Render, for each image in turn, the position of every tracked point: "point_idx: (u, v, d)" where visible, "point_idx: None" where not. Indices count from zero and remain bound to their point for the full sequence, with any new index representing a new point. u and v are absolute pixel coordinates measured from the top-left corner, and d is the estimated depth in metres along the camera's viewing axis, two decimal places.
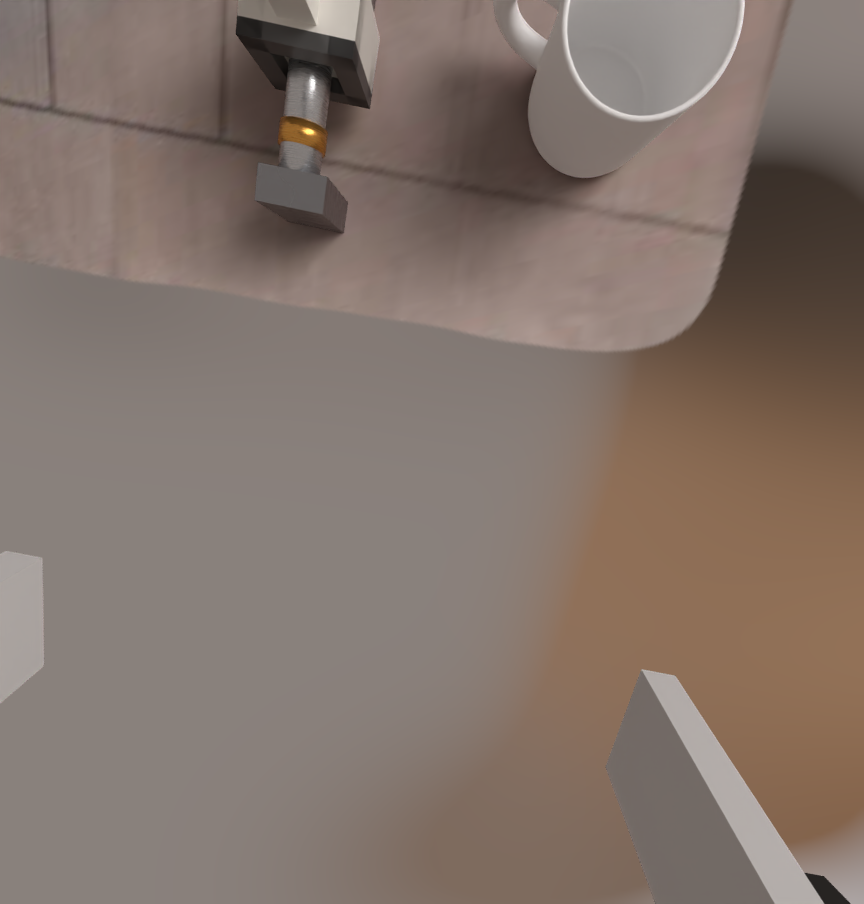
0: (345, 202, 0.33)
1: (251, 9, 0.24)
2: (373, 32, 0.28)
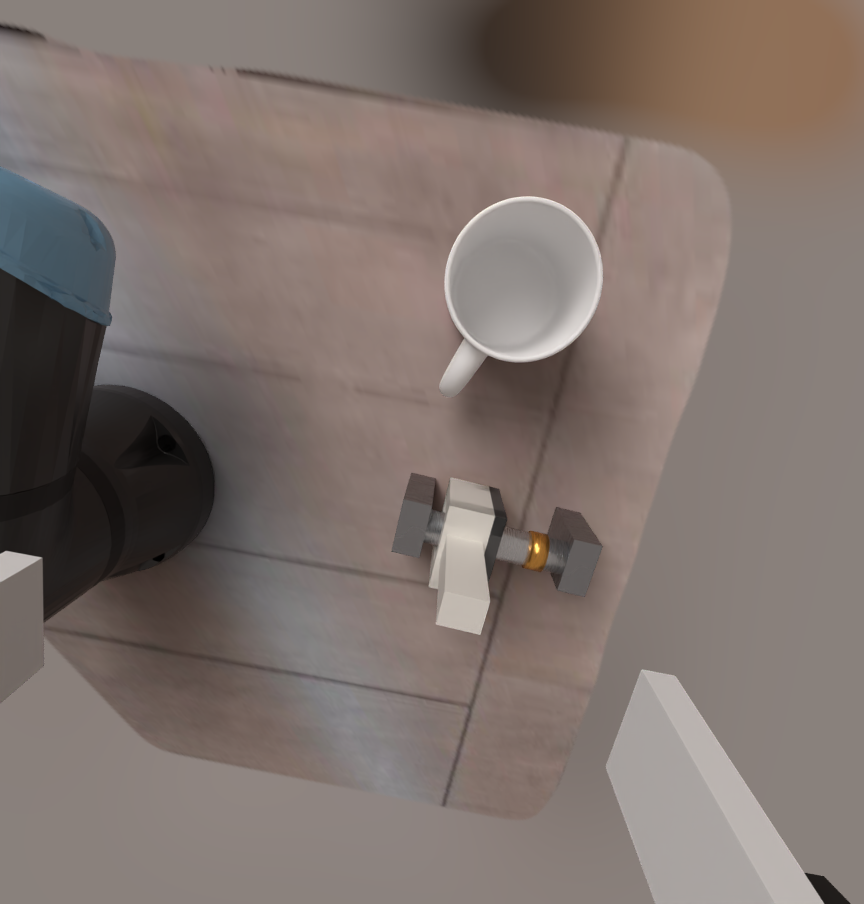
0: (560, 510, 0.39)
1: None
2: (458, 487, 0.35)
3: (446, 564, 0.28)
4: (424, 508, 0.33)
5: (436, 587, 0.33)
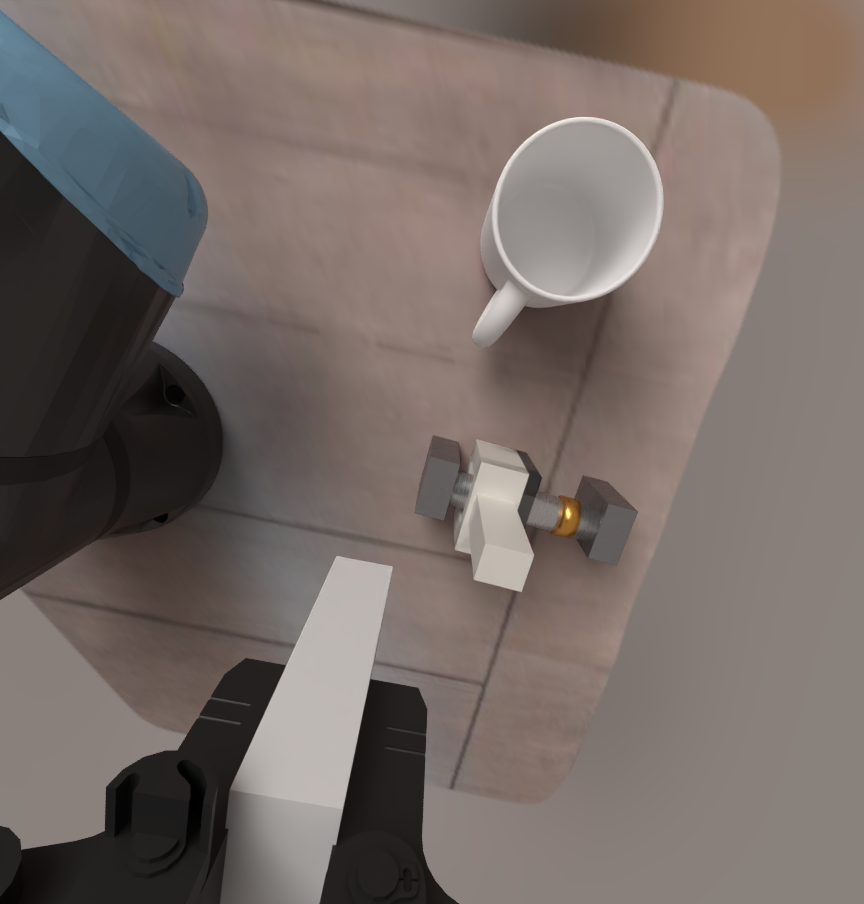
0: (587, 478, 0.37)
1: None
2: (486, 448, 0.33)
3: (482, 519, 0.26)
4: (451, 467, 0.31)
5: (463, 550, 0.31)
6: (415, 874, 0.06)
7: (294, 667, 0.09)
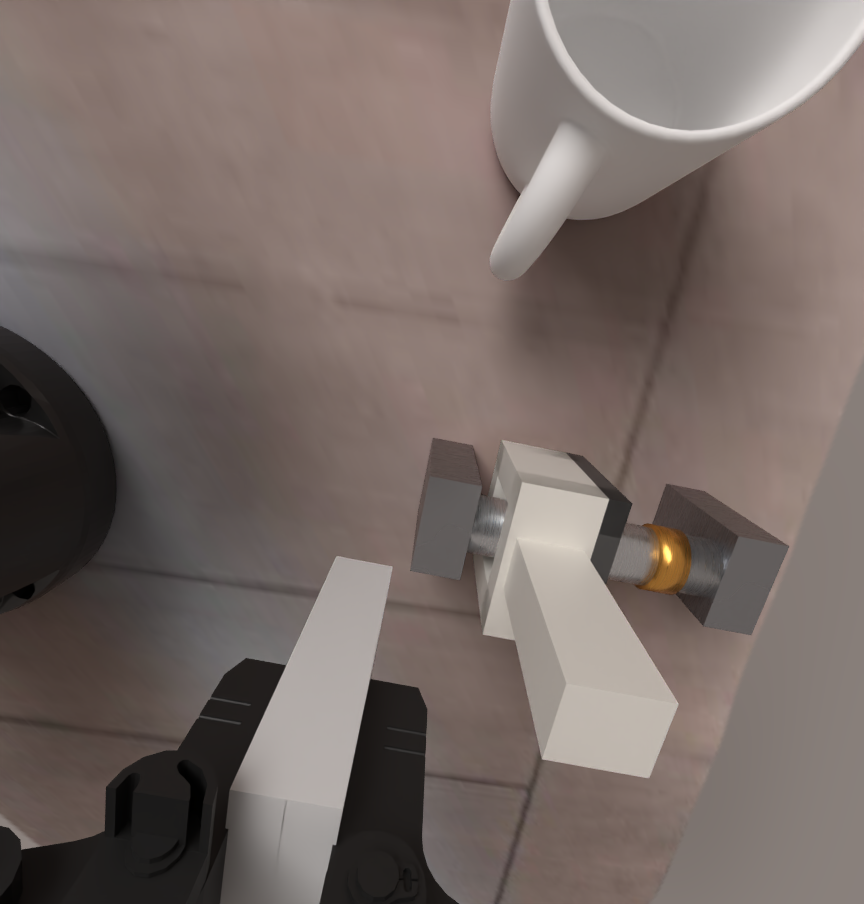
0: (676, 489, 0.24)
1: None
2: (522, 454, 0.20)
3: (540, 604, 0.13)
4: (468, 491, 0.18)
5: (497, 634, 0.18)
6: (415, 874, 0.06)
7: (294, 667, 0.09)
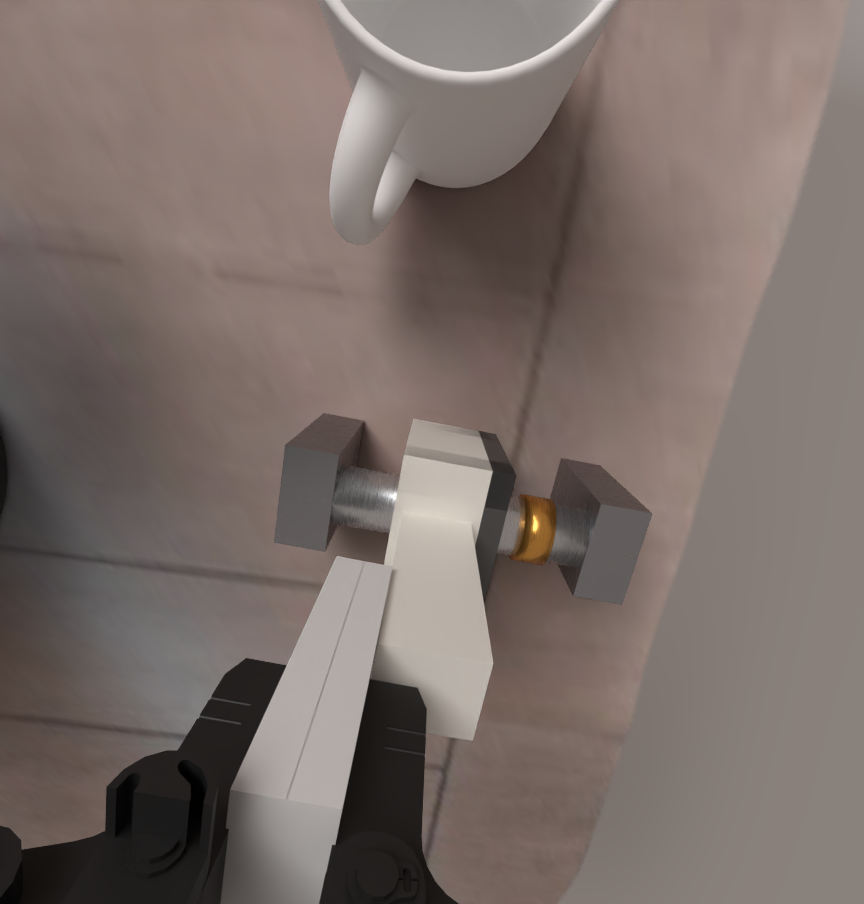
0: (568, 463, 0.24)
1: None
2: (426, 431, 0.20)
3: (393, 571, 0.13)
4: (325, 460, 0.18)
5: None
6: (414, 874, 0.06)
7: (295, 667, 0.09)
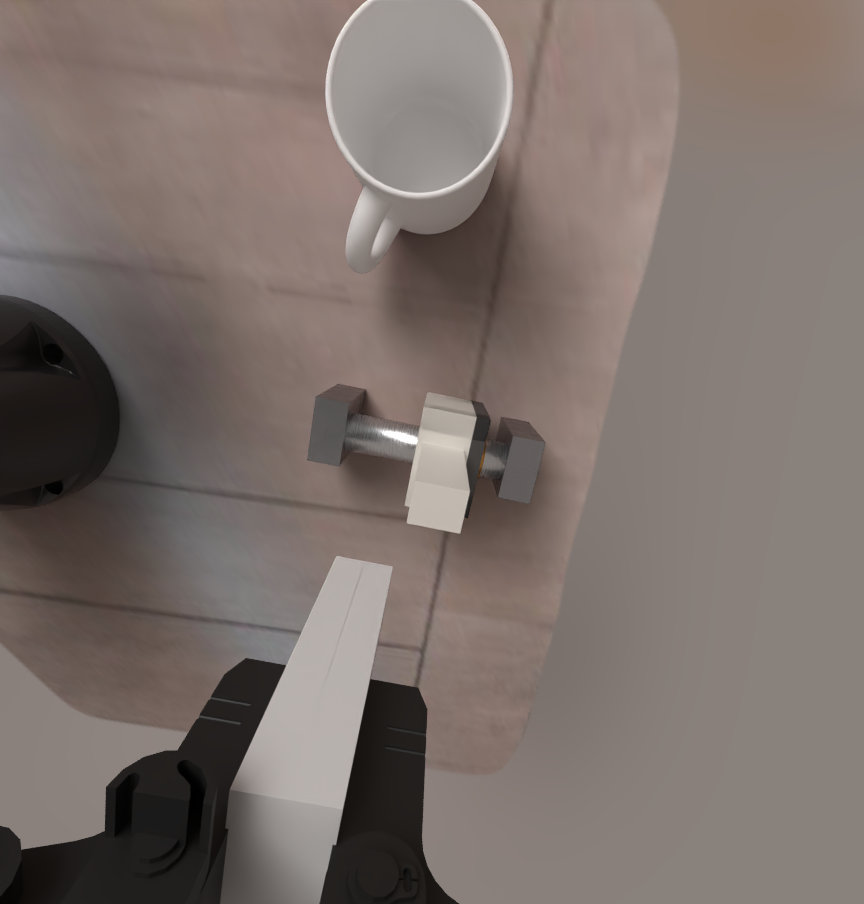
0: (505, 419, 0.34)
1: None
2: (436, 398, 0.31)
3: (419, 462, 0.24)
4: (340, 406, 0.29)
5: None
6: (415, 874, 0.06)
7: (294, 667, 0.09)
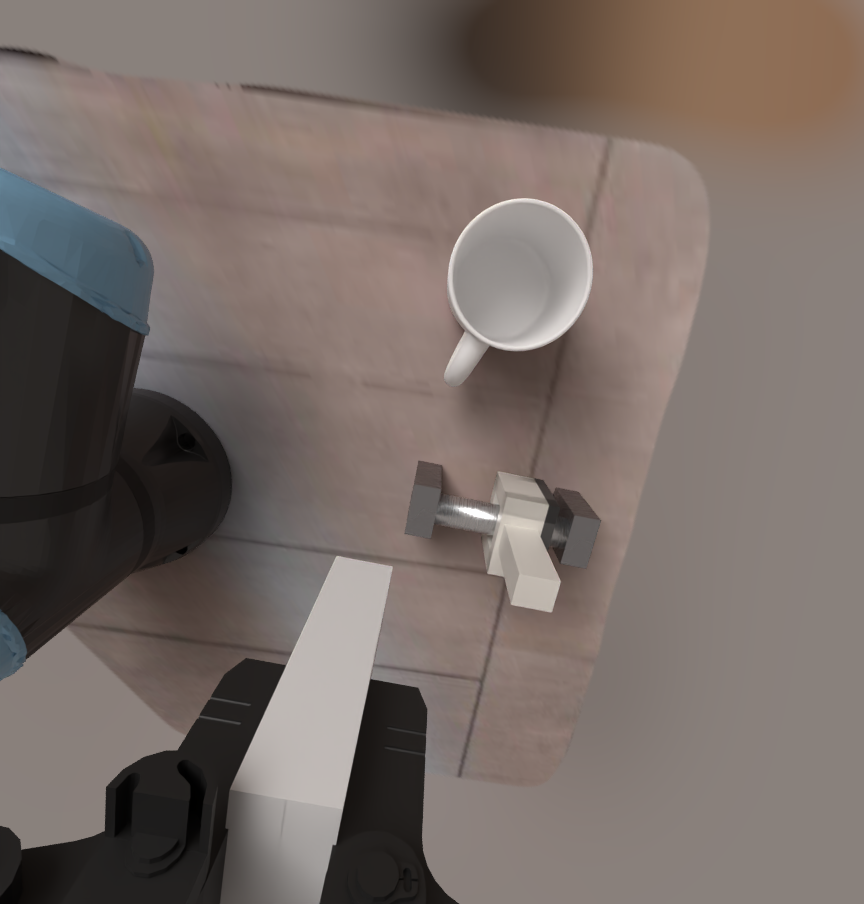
0: (559, 490, 0.41)
1: None
2: (508, 480, 0.38)
3: (512, 550, 0.30)
4: (434, 491, 0.36)
5: (494, 573, 0.35)
6: (415, 874, 0.06)
7: (294, 667, 0.09)
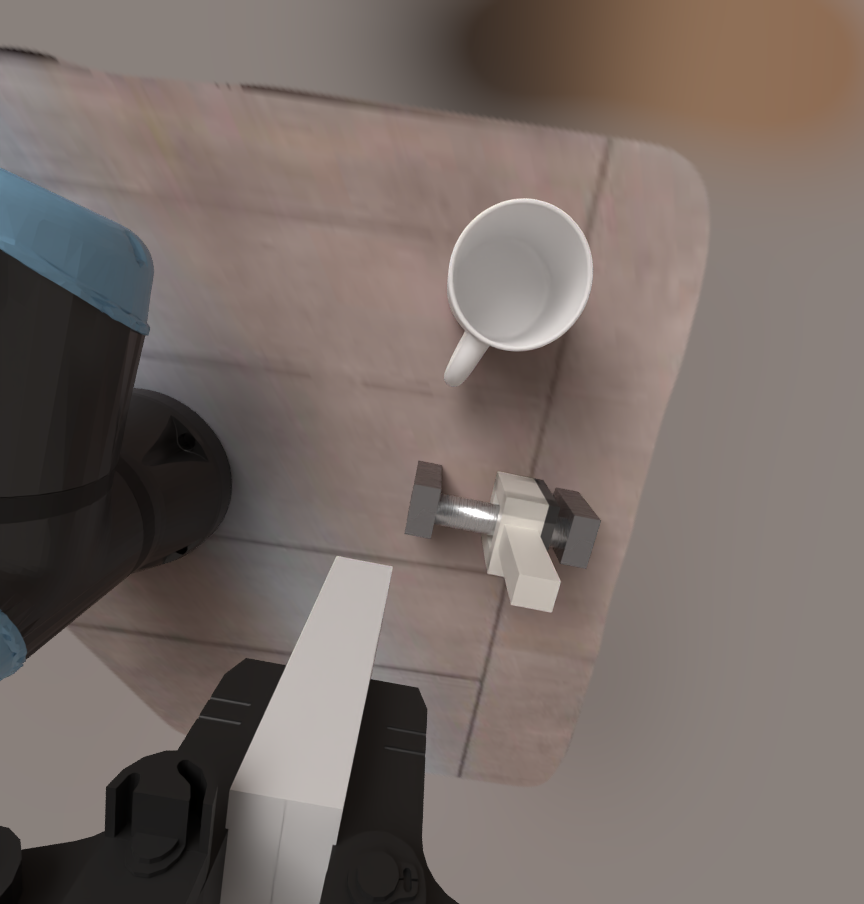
0: (559, 490, 0.41)
1: None
2: (508, 480, 0.38)
3: (512, 550, 0.30)
4: (434, 492, 0.36)
5: (494, 573, 0.35)
6: (415, 874, 0.06)
7: (294, 667, 0.09)
